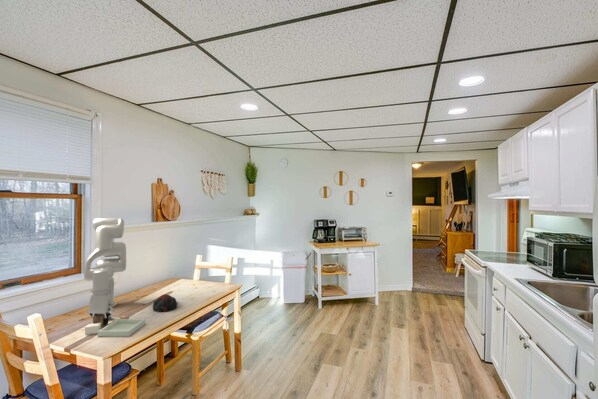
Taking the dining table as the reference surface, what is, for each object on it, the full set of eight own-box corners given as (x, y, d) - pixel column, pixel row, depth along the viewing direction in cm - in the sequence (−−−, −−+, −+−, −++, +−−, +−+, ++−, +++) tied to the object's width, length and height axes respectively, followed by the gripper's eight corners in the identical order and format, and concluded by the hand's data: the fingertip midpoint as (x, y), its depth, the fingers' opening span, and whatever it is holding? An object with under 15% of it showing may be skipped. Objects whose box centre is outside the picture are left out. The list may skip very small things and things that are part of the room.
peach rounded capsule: (118, 322, 170) (118, 317, 170) (123, 319, 175) (123, 314, 175) (126, 322, 170) (126, 317, 170) (130, 319, 175) (130, 314, 175)
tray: (97, 336, 152) (97, 331, 152) (117, 323, 168) (117, 319, 168) (128, 336, 152) (128, 331, 152) (145, 323, 168) (145, 319, 168)
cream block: (85, 335, 155) (85, 327, 155) (87, 331, 158) (87, 324, 158) (98, 333, 157) (98, 325, 157) (100, 330, 160) (100, 322, 160)
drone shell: (167, 313, 185) (167, 300, 185) (141, 311, 189) (141, 298, 189) (188, 302, 205) (188, 291, 206) (163, 300, 210) (163, 289, 210)
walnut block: (93, 327, 164) (93, 316, 164) (99, 323, 169) (99, 313, 169) (102, 327, 164) (102, 316, 164) (108, 323, 169) (108, 313, 169)
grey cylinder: (102, 320, 173) (102, 312, 174) (106, 318, 177) (106, 309, 178) (108, 320, 173) (108, 312, 174) (113, 318, 177) (113, 309, 178)
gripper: (80, 294, 163) (80, 327, 163) (111, 294, 163) (111, 327, 163) (90, 290, 171) (90, 322, 170) (119, 290, 170) (119, 321, 170)
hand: (100, 324), depth 166 cm, fingers closed on walnut block, 5 cm apart
